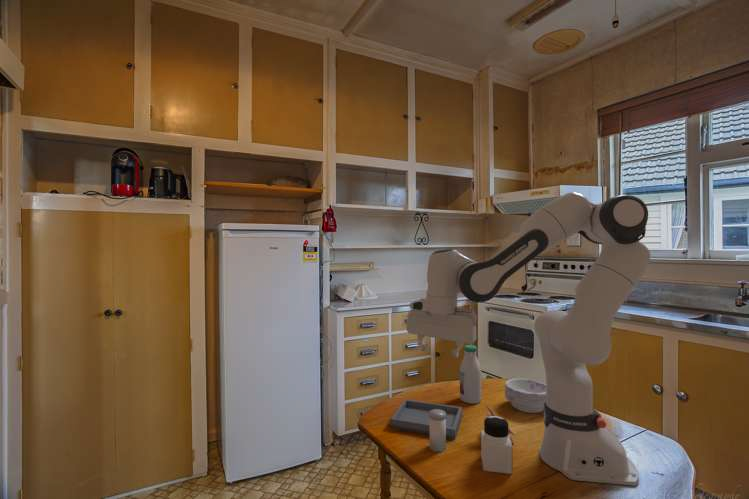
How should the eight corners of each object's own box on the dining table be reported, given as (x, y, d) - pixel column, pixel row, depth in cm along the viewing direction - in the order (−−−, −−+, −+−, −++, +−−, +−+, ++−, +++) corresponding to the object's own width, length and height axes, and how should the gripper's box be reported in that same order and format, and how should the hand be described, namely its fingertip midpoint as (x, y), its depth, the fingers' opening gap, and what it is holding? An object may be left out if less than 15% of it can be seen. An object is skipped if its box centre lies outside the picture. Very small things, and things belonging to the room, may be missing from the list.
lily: (514, 460, 102) (526, 426, 104) (472, 437, 106) (486, 404, 107) (506, 450, 114) (517, 420, 116) (469, 430, 117) (481, 401, 119)
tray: (462, 416, 126) (462, 407, 126) (455, 439, 111) (455, 429, 111) (404, 407, 133) (404, 398, 133) (390, 428, 118) (390, 418, 118)
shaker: (447, 445, 108) (447, 410, 108) (444, 453, 104) (444, 417, 104) (431, 442, 110) (431, 408, 110) (427, 450, 106) (427, 414, 105)
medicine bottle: (512, 474, 94) (512, 427, 94) (483, 471, 96) (483, 424, 95) (508, 458, 101) (508, 414, 101) (481, 455, 103) (480, 412, 102)
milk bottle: (483, 398, 140) (483, 345, 140) (477, 406, 134) (477, 350, 133) (463, 394, 144) (463, 342, 144) (456, 401, 138) (456, 347, 138)
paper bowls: (554, 404, 135) (554, 382, 135) (547, 421, 122) (547, 397, 122) (510, 395, 143) (510, 374, 143) (499, 410, 130) (499, 387, 130)
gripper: (480, 308, 105) (478, 358, 105) (414, 300, 115) (412, 345, 116) (474, 311, 99) (471, 363, 100) (404, 302, 110) (402, 349, 110)
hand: (439, 353), depth 108 cm, fingers open, 8 cm apart
